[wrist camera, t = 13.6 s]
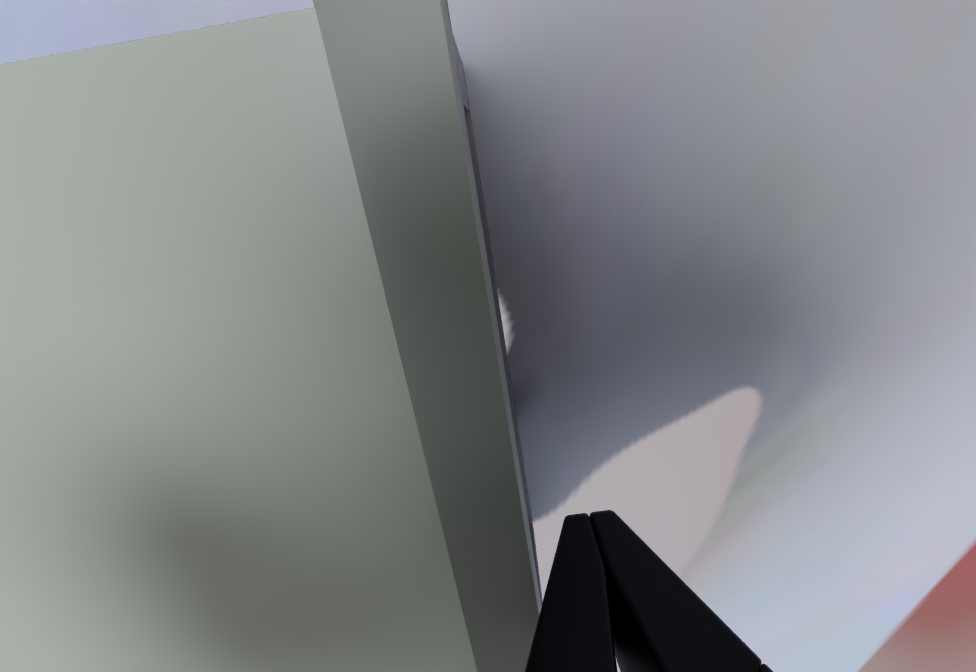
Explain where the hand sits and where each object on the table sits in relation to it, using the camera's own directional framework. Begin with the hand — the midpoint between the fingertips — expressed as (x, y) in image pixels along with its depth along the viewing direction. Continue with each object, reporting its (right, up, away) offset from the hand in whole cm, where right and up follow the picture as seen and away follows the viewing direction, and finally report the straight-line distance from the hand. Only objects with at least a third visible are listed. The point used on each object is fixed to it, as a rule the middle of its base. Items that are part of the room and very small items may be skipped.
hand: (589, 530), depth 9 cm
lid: (-8, -1, +1) cm, 8 cm away
